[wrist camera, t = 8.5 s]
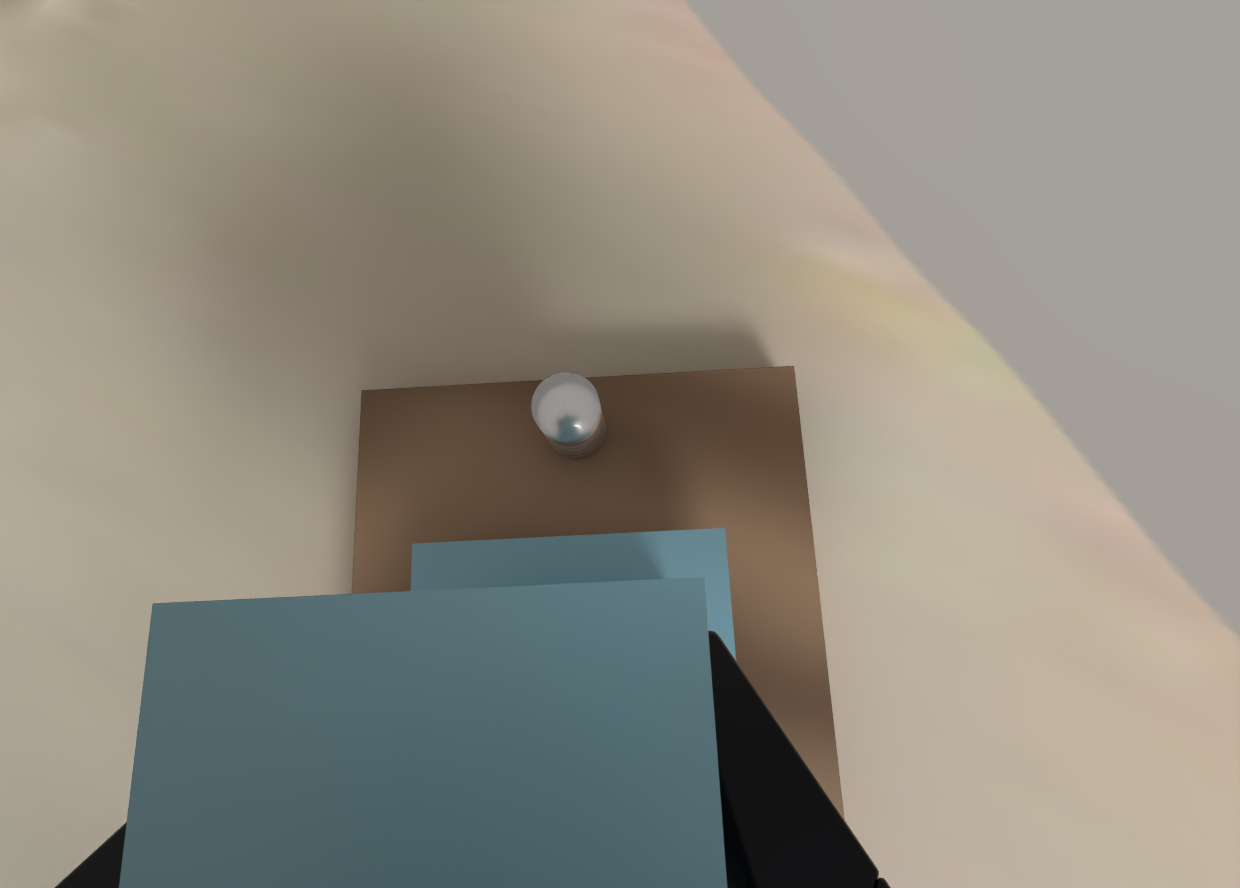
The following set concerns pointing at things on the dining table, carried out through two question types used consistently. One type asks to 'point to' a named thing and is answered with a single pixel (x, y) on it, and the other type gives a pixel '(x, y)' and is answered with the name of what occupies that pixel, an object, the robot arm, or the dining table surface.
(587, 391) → the dowel pins
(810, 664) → the walnut base plate
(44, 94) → the dining table surface
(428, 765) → the stepped blue block
